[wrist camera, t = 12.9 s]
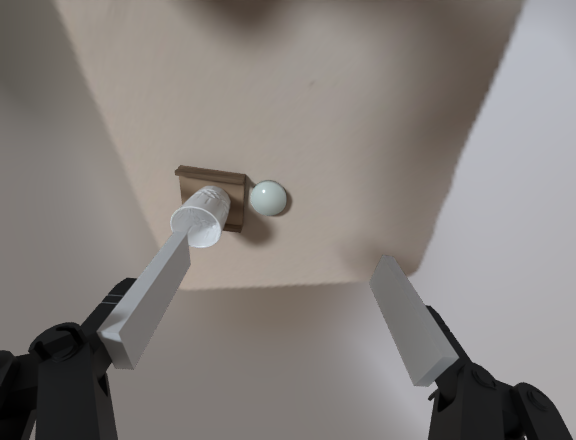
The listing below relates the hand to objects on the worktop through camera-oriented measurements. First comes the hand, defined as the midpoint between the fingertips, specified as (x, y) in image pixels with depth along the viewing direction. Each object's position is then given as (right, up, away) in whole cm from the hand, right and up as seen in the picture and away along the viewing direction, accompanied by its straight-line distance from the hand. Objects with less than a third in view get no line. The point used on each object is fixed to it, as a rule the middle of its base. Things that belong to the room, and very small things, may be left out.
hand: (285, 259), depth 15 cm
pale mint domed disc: (-4, +8, +29) cm, 30 cm away
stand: (-15, +7, +29) cm, 33 cm away
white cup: (-15, +7, +28) cm, 32 cm away
